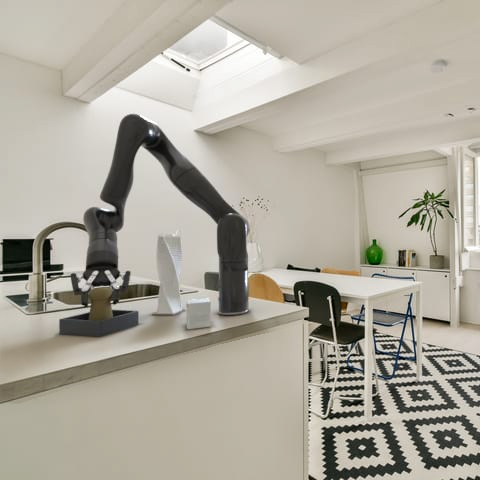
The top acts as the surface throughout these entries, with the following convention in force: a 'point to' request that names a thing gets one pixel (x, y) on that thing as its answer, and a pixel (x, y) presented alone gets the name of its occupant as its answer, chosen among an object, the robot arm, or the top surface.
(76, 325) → the basket
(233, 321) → the top surface
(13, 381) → the top surface
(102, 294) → the cork
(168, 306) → the skyscraper
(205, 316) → the product box
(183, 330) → the top surface
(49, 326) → the top surface
